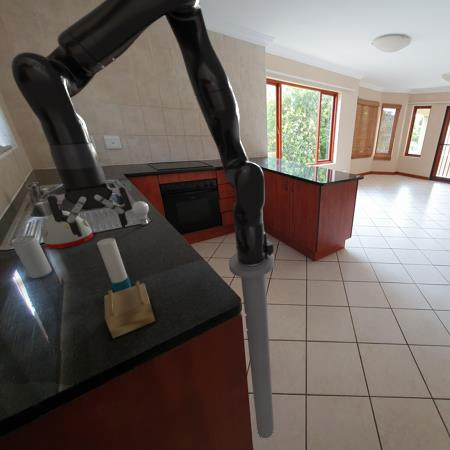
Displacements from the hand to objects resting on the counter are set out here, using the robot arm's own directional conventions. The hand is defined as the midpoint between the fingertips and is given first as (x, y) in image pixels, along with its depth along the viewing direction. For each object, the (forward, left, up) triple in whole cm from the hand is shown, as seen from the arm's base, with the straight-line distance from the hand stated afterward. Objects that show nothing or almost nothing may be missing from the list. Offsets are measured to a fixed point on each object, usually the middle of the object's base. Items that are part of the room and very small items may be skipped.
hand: (103, 231), depth 59 cm
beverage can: (+19, -23, -18) cm, 35 cm away
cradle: (-1, +14, -18) cm, 23 cm away
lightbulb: (-11, -48, -18) cm, 52 cm away
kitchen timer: (+14, -48, -18) cm, 53 cm away
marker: (0, 0, -10) cm, 10 cm away
